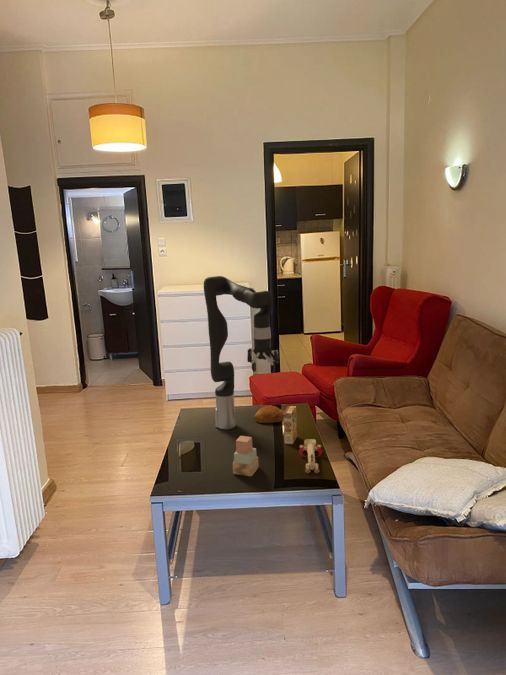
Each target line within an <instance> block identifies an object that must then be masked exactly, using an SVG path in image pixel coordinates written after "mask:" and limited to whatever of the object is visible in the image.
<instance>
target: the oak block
mask: <svg viewBox="0 0 506 675" xmlns="http://www.w3.org/2000/svg"><path fill="white" fill-rule="evenodd" d="M258 469H259V456H257V458H256V459H255V460H254V461H253V462H252V464H251V465H247V464H240V463H234V461H233V462H232V474H234V475H239V476H244V477H251V476H252V477H253V475H254V474H255V473H256V472H257V470H258Z"/></svg>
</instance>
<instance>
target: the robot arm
mask: <svg viewBox="0 0 506 675" xmlns="http://www.w3.org/2000/svg"><path fill="white" fill-rule="evenodd" d="M203 292H204V301H205V305H206V312H207V325H208V326H207V329H208V337H209V347H210V348H209V349H210V376H211V379H212V381H213V382H214V383H221V382H222V383H221V384H220V385H218V386H217V387H215V390H214V391H215V392H214V394H215V408H214V421H215V422H214V425H215V428H218V429H219V430H231V429H234V428H235V427H236V410H235V368H234V365H233V363H232V362H231V361H222V362H220V356H221V352H222V351H223V348H224V346H225V344H226V342H227V340H228V337H229V332H228V330H229V328H228V322H227V319H226V317H225V316H224V315H223V313H222V312H221V310H220V308H219V306H218V302H217V296H223V295H230V296H232V297H233V298H234V299H235V300H237V301H238V302H241V303H243V304H247V306H249V307H250V308H252V309H259V311H258V312H257V313H255V314H254V315H253V346H254V348H252V347H249V348H248V349H247V359H246V360H247V362H248V363H251V370H252V372H256V371H257V363H256V362H257V361H258V360H264V361H265V360H267V362H269V364H270V374H274V372H275V371H276V365H277V364H279V363H280V354H279V350H278V349H276V350H273V349H272V333H271V331H272V329H271V315H272V314H271V313H272V309H273V305H274V298H273V295H272V293H271V292H270V291H268V290H263V291H255V289H253V288H251V287H248V286H246V285H245V286H244V285H241V284H237V283H236V282H234V281H232V280H230V279H229V278H227V277H226V276H222V275H218V276H217V275H215V276H208V277H206V278H205V279H204V281H203ZM253 354H254V355H255V356H254V357H253ZM272 355H273V356H272Z"/></svg>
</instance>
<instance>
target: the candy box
mask: <svg viewBox="0 0 506 675" xmlns="http://www.w3.org/2000/svg"><path fill="white" fill-rule="evenodd" d="M283 412H284V413H283V414H284V419H283V432H284V434H283V436H284V444H287V445H293V444H295V443H294V442H295V441H296V439H297V437H298V432H297V431H298V430H297V406H293V405H287V407H286V409H284V410H283Z"/></svg>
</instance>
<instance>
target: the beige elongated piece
mask: <svg viewBox="0 0 506 675" xmlns="http://www.w3.org/2000/svg"><path fill="white" fill-rule="evenodd" d="M303 441H304V442H303V444H300V445H299V449H298V454H299V455H300V457H301V456H302V457H304V458H305V455H304V453H303V452H304V451H305V452H307V463H306V464H305V469H304V472H305V473H306V474H309V473H311V471H313V473H315V474H319V473H320V469H319V463H317V462H316V456H315V451H317V452H318V455H317V458H319V457H321V456H322V454H323V450H322V445H321V444H317V440H316V439H315V438H311V439H310V438H308V439H307V438H306V439H304V440H303Z"/></svg>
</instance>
